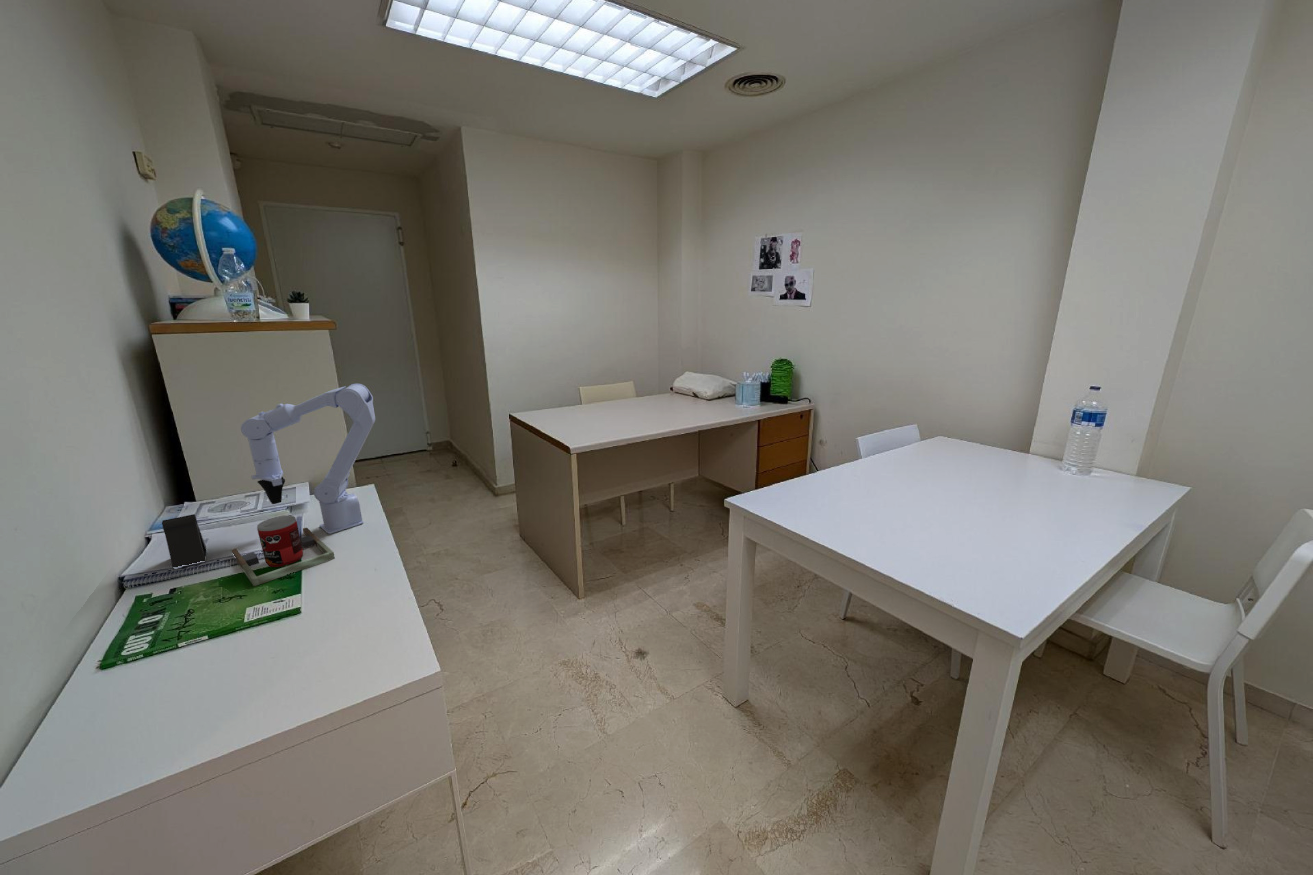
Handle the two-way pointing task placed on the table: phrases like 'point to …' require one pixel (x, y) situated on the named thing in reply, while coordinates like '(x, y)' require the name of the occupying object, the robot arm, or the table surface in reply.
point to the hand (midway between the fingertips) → (276, 502)
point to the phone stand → (184, 540)
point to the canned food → (280, 541)
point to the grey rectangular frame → (288, 569)
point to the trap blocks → (253, 559)
